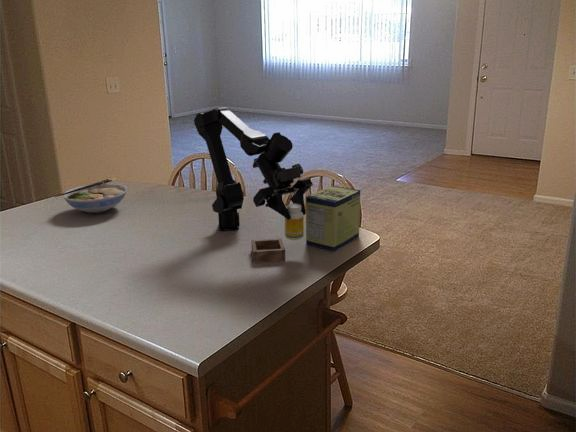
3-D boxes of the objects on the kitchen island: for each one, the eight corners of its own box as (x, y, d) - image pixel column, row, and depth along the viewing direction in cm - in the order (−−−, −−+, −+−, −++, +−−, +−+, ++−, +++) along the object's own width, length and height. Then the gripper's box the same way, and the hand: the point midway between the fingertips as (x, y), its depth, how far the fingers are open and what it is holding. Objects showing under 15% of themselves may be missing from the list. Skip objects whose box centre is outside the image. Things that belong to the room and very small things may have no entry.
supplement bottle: (282, 235, 154) (282, 203, 151) (299, 232, 156) (299, 201, 153) (288, 241, 149) (288, 209, 146) (306, 239, 151) (306, 207, 148)
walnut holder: (253, 262, 150) (253, 251, 148) (251, 250, 158) (251, 240, 157) (285, 260, 151) (285, 249, 150) (281, 248, 159) (281, 238, 158)
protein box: (359, 236, 168) (361, 189, 163) (334, 252, 156) (335, 202, 151) (331, 230, 174) (332, 184, 169) (305, 244, 162) (304, 196, 157)
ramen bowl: (90, 225, 181) (87, 202, 179) (49, 214, 193) (45, 193, 190) (144, 206, 201) (142, 185, 199) (104, 197, 213) (101, 177, 210)
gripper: (258, 160, 142) (285, 209, 138) (308, 150, 153) (335, 195, 149) (241, 183, 150) (267, 229, 146) (291, 172, 162) (315, 214, 157)
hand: (297, 216), depth 149 cm, fingers closed on supplement bottle, 5 cm apart
